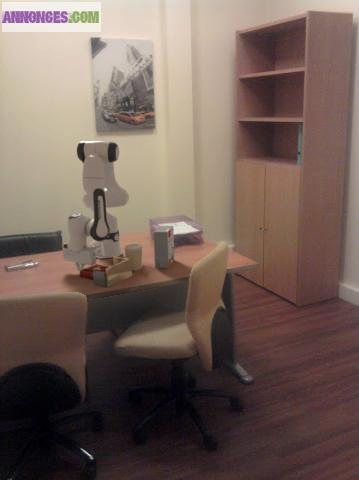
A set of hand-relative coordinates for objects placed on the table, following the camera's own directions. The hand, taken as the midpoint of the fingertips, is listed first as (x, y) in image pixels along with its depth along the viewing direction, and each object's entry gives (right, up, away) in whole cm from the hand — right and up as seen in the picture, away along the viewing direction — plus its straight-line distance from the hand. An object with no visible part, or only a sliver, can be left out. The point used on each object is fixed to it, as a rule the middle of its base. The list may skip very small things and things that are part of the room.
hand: (80, 270), depth 242 cm
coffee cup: (+28, +1, +6) cm, 28 cm away
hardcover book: (+13, -4, -6) cm, 15 cm away
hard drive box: (+44, +3, +11) cm, 45 cm away
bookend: (+13, -6, -18) cm, 23 cm away
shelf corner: (+18, -4, -10) cm, 21 cm away
